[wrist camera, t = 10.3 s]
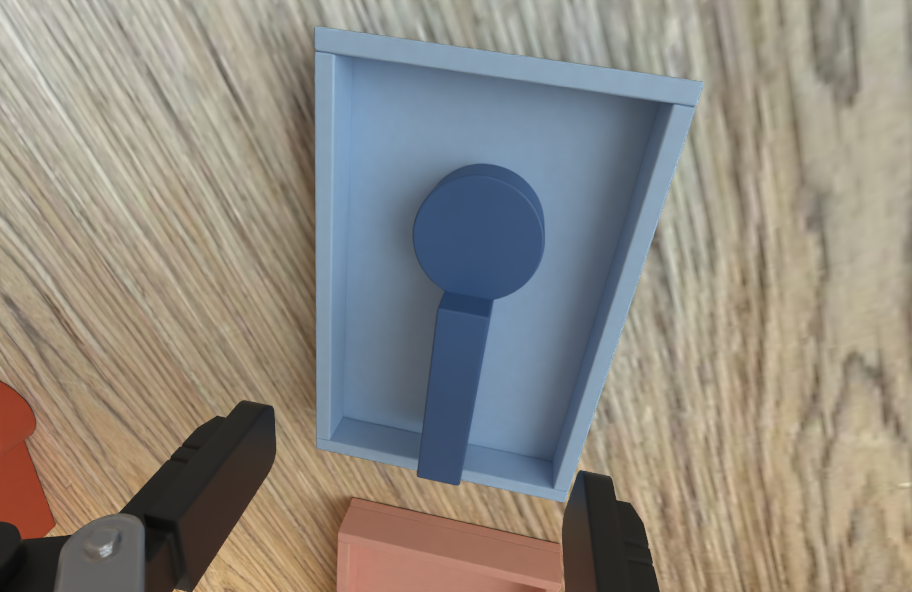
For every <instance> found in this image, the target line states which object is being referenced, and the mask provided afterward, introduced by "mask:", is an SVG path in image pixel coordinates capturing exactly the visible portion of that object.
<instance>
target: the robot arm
mask: <svg viewBox="0 0 912 592" xmlns="http://www.w3.org/2000/svg"><path fill="white" fill-rule="evenodd" d="M275 455H276V434H275V417H274V408H273V407H272V406H270V405H266V404H261V403H256V402H251V401H246V400H243V401H241V402H240V403H238V404H237V406H236V407H235V408H234V409H233V410H232V411H231V413H230V414H229V415H228V416H227V417H226V418H225V417H220V416H216V417H215V418H213V419H211V420H210V421H208V422H206V423H205V424H203V425H201V426H200V427H198V428H197V429H196V430H195V431H194V432H193V433H192V434H191V435H190V436H189V437H188V438H187V440H186V441H185V442H184V443H183V445H182V447H179V448H178V449H177V450H176V451H175V453H174V454H173V455H172V456H171V459H170V460H167V461H166V462H165V463H164V465H163V466H162V467H161V468H160V469H159V470H158V471H157V472H156V473H155V474H154V475H153V476H152V478H151V479H150V480H149V481H148V482H147V483H146V484H145V485H144V486H143V487H142V488H141V490H140V491H139V492H138V493H137V494H136V495H135V496H134V497H133V498H132V499H131V500H130V502H129V503H128V504H127V505H126V506H125V507H124V508H123V509H122V510H121V511H120V512H119V513H118V514H111V515H107V516H104V517H101V518H98V519H96V520H93V521H91V522H89V523H88V524H86V525H84V526H83V527H81V528H80V529H79V530H77V531H76V532H75V533H74V534H73V535H67V536H56V537H44V538H32V539H22V537H21V535H20V532H19V530H18V528H17V527H16V526H15V525H13V524H11V523H8V522H0V592H172V591H173V590H174V589H179V590H183V591H187V592H192V591H193V590H194V588H195V587H196V585H197V584H198V582H199V580H200V579H201V577H202V576H203V574H204V573H205V571H206V570H207V568H208V566H209V565H210V563H211V562H212V560H213V559H214V557H215V556H216V554H217V553H218V551H219V549H220V548H221V546H222V545H223V543H224V542H225V540H226V539H227V537H228V535H229V534H230V532H231V531H232V529H233V528H234V526H235V525H236V523H237V521H238V520H239V518H240V517H241V515H242V514H243V512H244V511H245V509H246V508H247V506H248V504H249V503H250V501H251V500H252V498H253V497H254V495H255V494H256V492H257V490H258V489H259V487H260V486H261V484H262V483H263V481H264V480H265V478H266V476H267V475H268V473H269V472H270V470H271V468H272V465H273V462H274V459H275ZM562 545H563V562H564V579H565V592H660V591H659V586H658V582H657V578H656V574H655V570H654V567H653V566H652V563H653V561H652V557H651V553H650V549H648V545H649V544H648V540H647V536H646V532H645V528H644V523H643V522H642V520H641V519H640V517H639V516H638V514H637V513H636V511H635V509H634V508H633V506H632V505H631V503H627V502H623V501H618V500H616V496H615V491H614V486H613V481H612V478H611V477H610V476H606V475H601V474H597V473H592V472H587V471H582V470H580V471H579V472H578V474H577V477H576V480H575V483H574V486H573V489H572V492H571V494H570V497H569V500H568V503H567V506H566V509H565V513H564V518H563V525H562Z"/></svg>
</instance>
